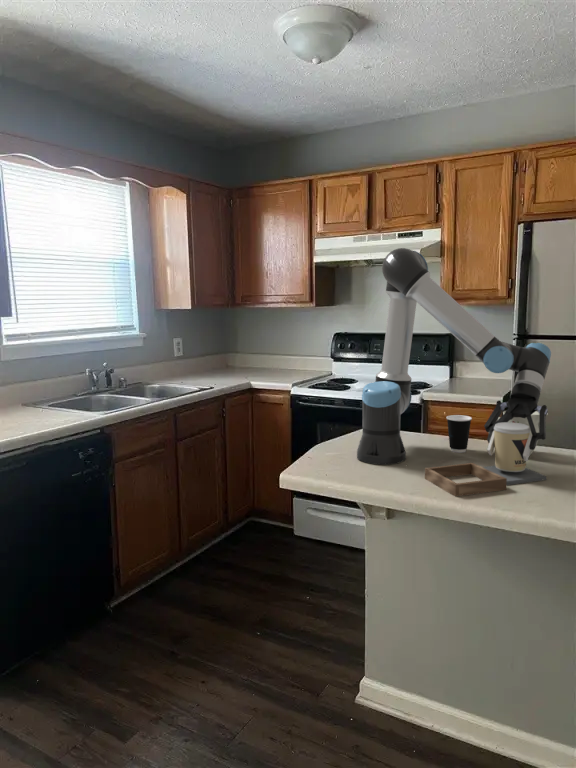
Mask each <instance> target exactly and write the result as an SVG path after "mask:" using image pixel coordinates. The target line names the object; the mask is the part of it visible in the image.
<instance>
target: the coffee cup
mask: <svg viewBox="0 0 576 768" xmlns="http://www.w3.org/2000/svg"><path fill="white" fill-rule="evenodd" d="M529 432H530V428H529V426H528V425H525V424H521V423H514V422H501V423H497V424H495V426H494V441H495V447H494V466H496V468H497V469H499V470H503V471H508V472H521V471H524V470H525V468H526V465H527V461H525V460H524V458H523V453H524V449H525V446H526V442H527V440H528V437H529Z"/></svg>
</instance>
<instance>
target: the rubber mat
mask: <svg viewBox="0 0 576 768" xmlns="http://www.w3.org/2000/svg"><path fill="white" fill-rule="evenodd" d="M482 467H483V468H485V469H487V470H489V471H491V472H493V473H496V474H498V475H500V476H502V477H504V478H506V479H507V483H506V486H511V485H516V484H524V483H533V481H534V482H540V481H546V480H547V476H546V475H545V474H542V473H540V472H538V471H535V470H533V469H529V468H528V467H525V470H524V471H521V472H508V471H503V470H499V469H497V468H496V466H495V465H487V466H482Z"/></svg>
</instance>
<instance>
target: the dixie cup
mask: <svg viewBox="0 0 576 768" xmlns="http://www.w3.org/2000/svg"><path fill="white" fill-rule="evenodd" d="M445 418H446V420H447V428H448V430H447V432H448V440H449V448H450V451H451V452H452V453H458V454H459V453H466V452H467V449H468V443H469V437H470V431H471V430H470V429H471V422H472V420H473V418H472V416H469V415H461V414H453V415H447V416H446V417H445Z"/></svg>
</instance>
